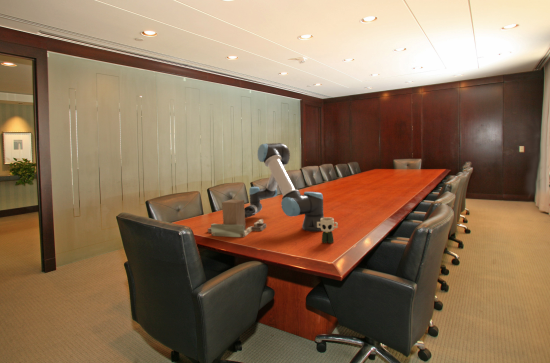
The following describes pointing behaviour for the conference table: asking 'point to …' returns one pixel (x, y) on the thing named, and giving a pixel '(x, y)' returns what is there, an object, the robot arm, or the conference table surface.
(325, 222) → the character mug
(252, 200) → the robot arm
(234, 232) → the tray
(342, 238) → the conference table surface
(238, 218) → the wooden block
